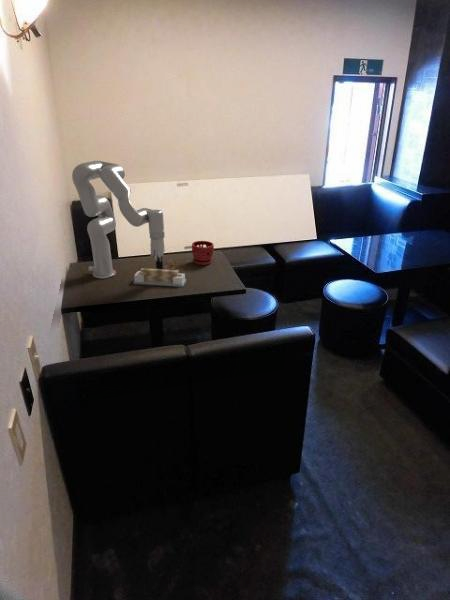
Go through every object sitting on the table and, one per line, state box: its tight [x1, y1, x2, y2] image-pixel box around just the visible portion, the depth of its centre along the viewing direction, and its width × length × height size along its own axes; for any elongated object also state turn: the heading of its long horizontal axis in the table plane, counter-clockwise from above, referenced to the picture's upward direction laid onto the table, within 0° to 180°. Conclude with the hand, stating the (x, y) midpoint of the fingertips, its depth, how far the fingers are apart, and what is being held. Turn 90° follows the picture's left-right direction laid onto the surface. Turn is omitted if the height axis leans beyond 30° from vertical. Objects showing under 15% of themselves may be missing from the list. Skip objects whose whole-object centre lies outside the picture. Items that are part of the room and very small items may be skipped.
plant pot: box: [191, 240, 215, 266], centre depth 245 cm, size 13×13×12 cm
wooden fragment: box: [162, 259, 182, 273], centre depth 240 cm, size 26×11×1 cm, turn 4°
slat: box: [140, 267, 179, 282], centre depth 217 cm, size 20×2×6 cm, turn 82°
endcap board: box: [133, 270, 187, 287], centre depth 218 cm, size 27×8×4 cm, turn 82°
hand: (159, 268), depth 215 cm, fingers closed
